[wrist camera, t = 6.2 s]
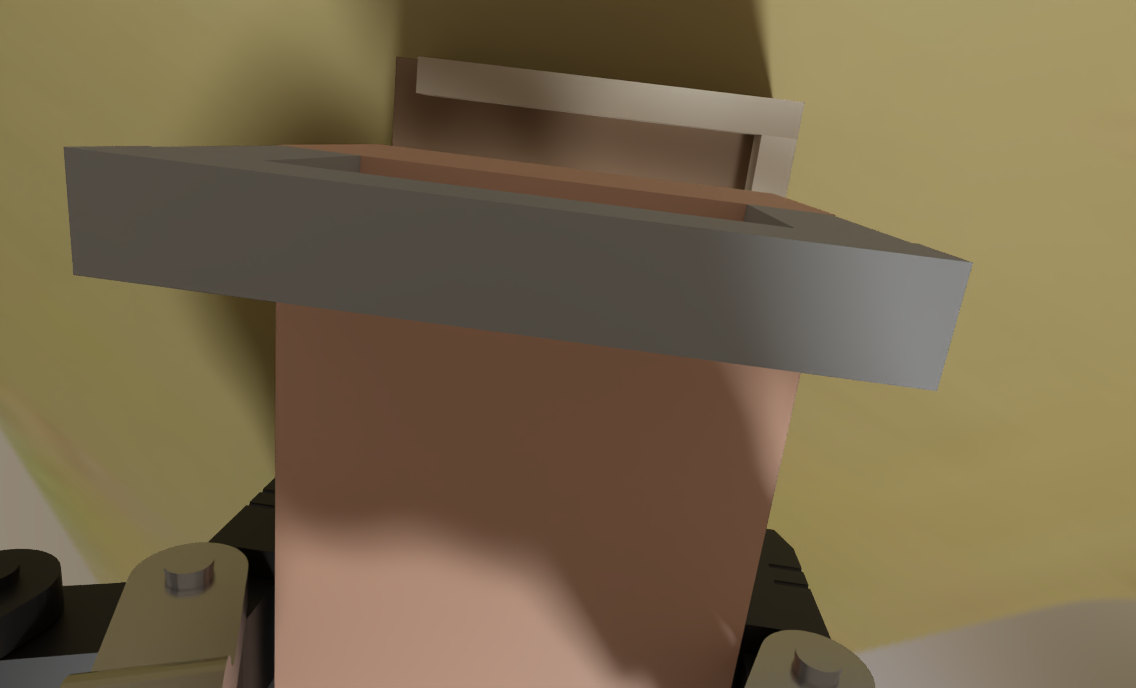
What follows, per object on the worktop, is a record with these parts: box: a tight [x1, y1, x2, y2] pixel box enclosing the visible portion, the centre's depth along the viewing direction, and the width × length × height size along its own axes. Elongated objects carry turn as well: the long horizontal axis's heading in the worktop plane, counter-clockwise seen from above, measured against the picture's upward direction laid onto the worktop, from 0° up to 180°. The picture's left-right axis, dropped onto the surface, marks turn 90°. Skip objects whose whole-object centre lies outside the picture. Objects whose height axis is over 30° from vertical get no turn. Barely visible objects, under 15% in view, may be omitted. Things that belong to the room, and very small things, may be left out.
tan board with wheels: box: [64, 144, 973, 688], centre depth 10 cm, size 11×6×8 cm, turn 173°
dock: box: [392, 56, 805, 198], centre depth 24 cm, size 15×12×4 cm
